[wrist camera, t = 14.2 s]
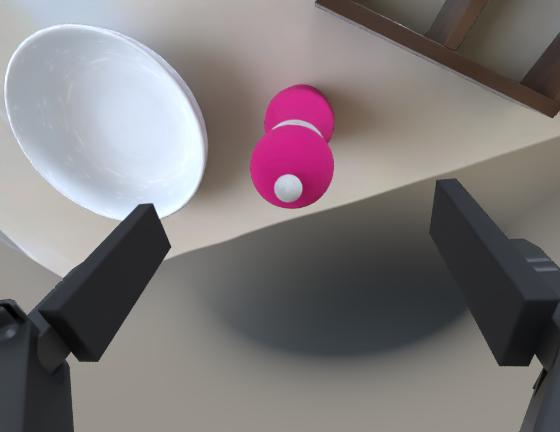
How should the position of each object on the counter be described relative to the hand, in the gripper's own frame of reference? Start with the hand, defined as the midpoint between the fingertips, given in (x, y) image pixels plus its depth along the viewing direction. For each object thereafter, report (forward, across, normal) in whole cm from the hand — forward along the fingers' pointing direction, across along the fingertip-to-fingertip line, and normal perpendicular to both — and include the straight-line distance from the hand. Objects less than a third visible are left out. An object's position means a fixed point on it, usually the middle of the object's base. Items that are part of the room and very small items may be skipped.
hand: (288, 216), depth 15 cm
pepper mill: (+24, -1, -1) cm, 24 cm away
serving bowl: (+24, -21, 0) cm, 32 cm away
